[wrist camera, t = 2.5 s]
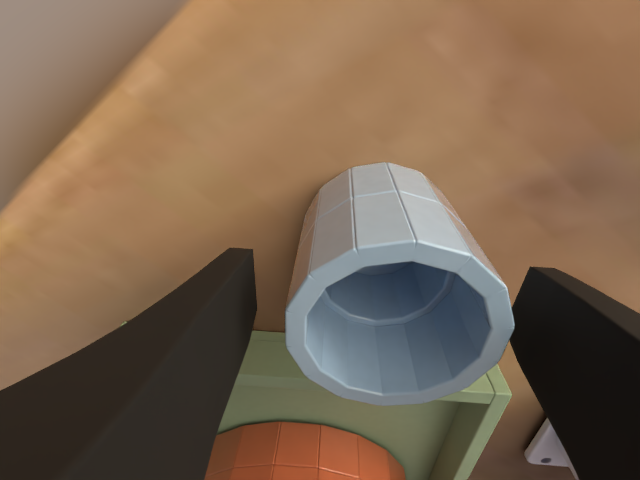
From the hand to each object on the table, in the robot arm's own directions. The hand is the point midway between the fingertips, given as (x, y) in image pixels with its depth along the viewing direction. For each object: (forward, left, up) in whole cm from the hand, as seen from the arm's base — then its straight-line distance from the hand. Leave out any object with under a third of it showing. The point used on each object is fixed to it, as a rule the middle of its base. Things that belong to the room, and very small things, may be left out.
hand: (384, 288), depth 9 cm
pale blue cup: (0, 0, -4) cm, 4 cm away
